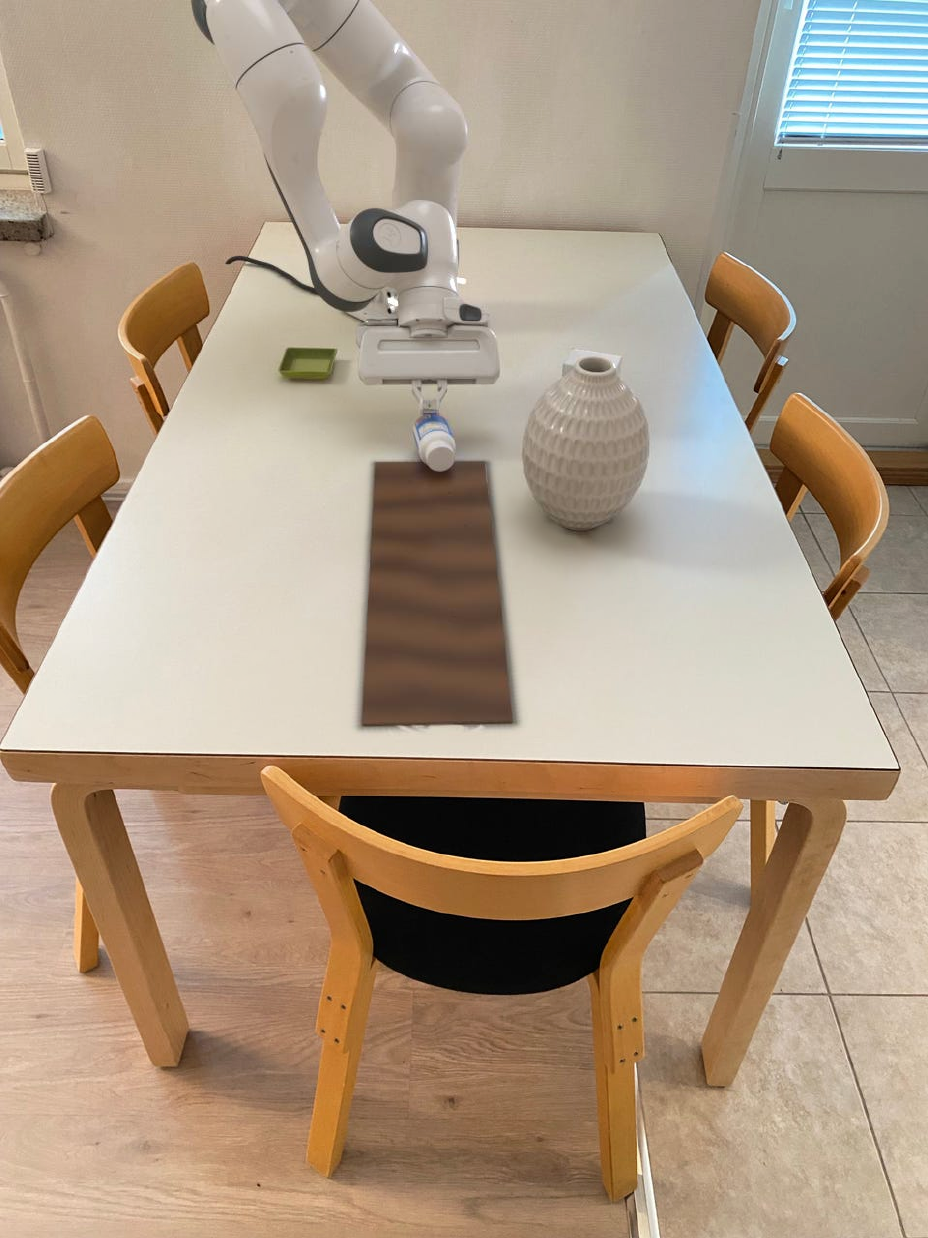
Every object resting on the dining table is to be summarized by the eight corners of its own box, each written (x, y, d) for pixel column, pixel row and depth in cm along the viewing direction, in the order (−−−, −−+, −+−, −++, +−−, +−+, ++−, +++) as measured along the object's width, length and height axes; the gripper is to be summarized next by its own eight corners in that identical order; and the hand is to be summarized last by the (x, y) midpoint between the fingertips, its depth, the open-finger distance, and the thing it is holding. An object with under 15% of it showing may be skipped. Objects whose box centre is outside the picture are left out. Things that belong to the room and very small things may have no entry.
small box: (615, 418, 151) (623, 355, 144) (607, 435, 147) (615, 371, 140) (565, 409, 153) (571, 346, 146) (556, 425, 149) (562, 362, 142)
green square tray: (278, 382, 158) (277, 370, 157) (287, 358, 165) (286, 346, 163) (331, 384, 158) (330, 372, 157) (338, 359, 165) (337, 348, 163)
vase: (605, 567, 123) (628, 411, 108) (496, 525, 129) (503, 373, 115) (656, 506, 133) (683, 356, 119) (553, 470, 140) (566, 324, 125)
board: (375, 464, 140) (375, 461, 140) (485, 463, 141) (485, 460, 141) (361, 725, 102) (361, 722, 102) (512, 722, 103) (512, 720, 102)
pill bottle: (443, 447, 145) (453, 479, 138) (408, 441, 144) (417, 474, 136) (452, 414, 142) (463, 445, 134) (417, 408, 140) (426, 439, 133)
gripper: (354, 310, 135) (355, 407, 134) (500, 310, 136) (501, 406, 135) (357, 326, 141) (358, 419, 140) (496, 326, 142) (498, 419, 141)
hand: (429, 413), depth 138 cm, fingers closed
